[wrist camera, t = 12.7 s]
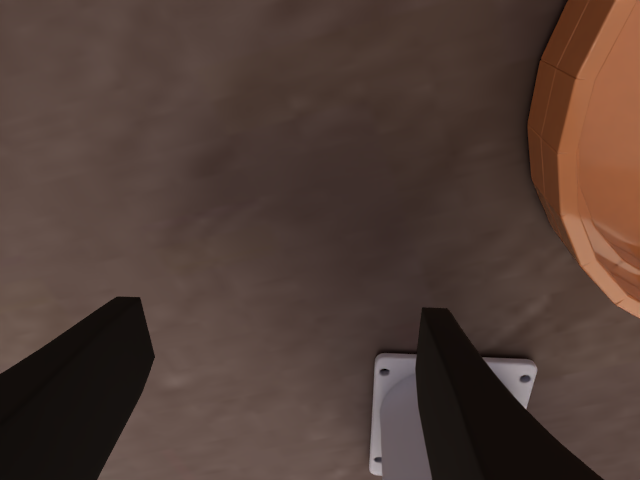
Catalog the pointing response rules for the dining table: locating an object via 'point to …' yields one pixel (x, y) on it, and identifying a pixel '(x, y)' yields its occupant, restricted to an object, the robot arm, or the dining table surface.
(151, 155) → the dining table surface
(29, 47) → the dining table surface
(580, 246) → the pan
